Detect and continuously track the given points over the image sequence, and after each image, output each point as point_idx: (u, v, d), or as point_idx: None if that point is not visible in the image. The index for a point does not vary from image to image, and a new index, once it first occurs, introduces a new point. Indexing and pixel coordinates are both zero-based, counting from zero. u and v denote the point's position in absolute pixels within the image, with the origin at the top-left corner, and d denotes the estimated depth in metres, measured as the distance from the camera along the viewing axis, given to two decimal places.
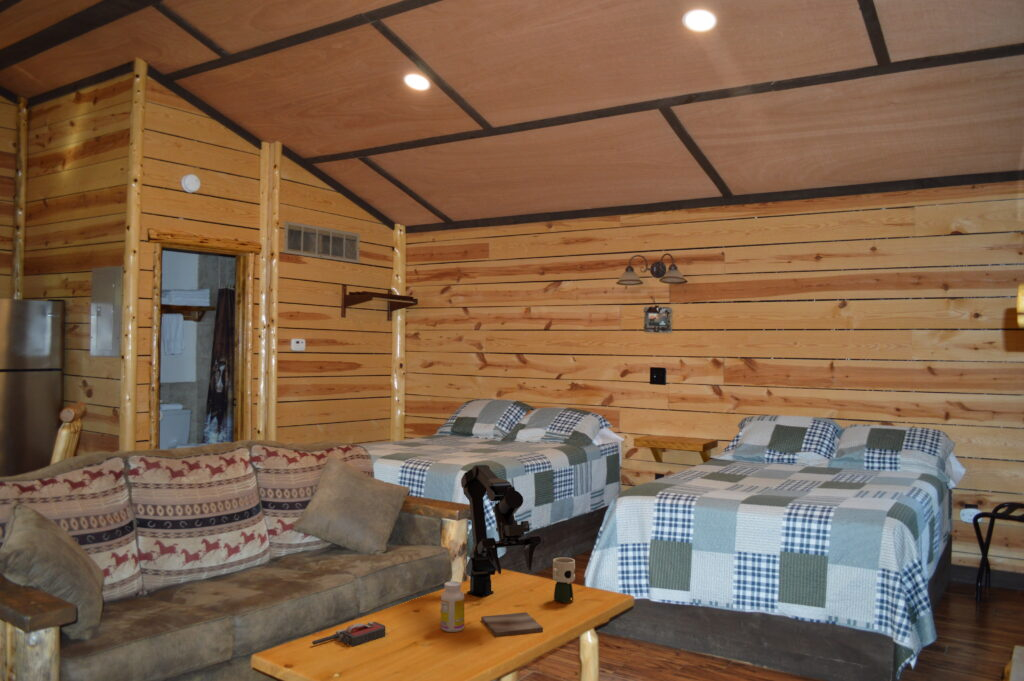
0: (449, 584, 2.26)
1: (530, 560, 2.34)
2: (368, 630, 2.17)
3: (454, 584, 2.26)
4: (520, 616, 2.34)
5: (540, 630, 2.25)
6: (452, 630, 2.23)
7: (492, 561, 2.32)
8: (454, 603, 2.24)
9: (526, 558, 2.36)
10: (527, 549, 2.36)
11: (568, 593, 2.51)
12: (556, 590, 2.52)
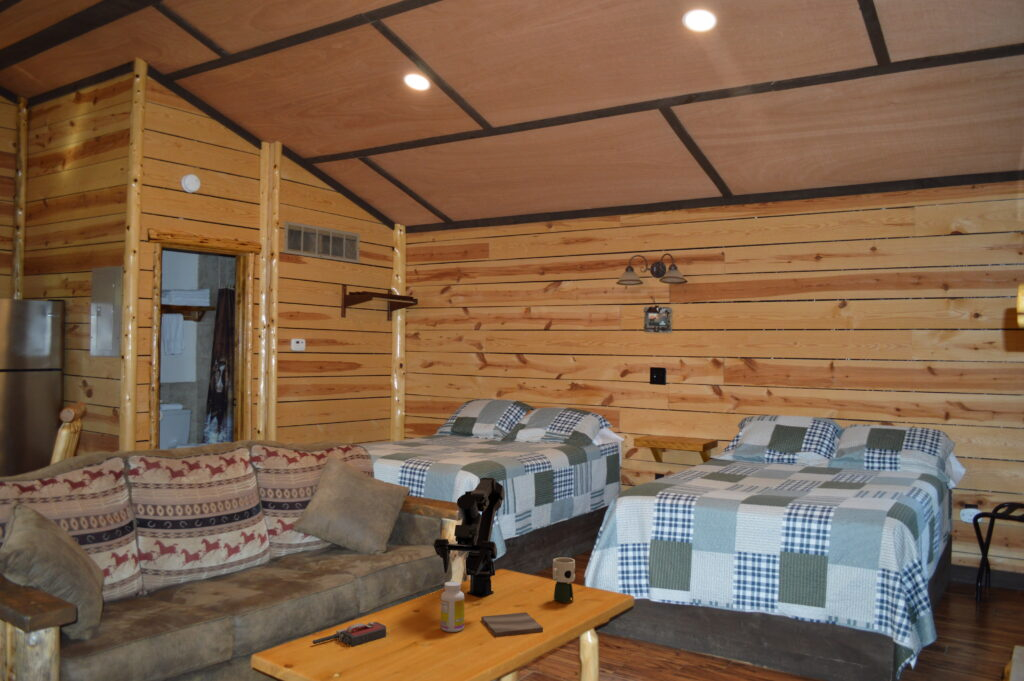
0: (449, 584, 2.26)
1: (478, 564, 2.35)
2: (368, 630, 2.17)
3: (454, 584, 2.26)
4: (520, 616, 2.34)
5: (540, 630, 2.25)
6: (452, 630, 2.23)
7: None
8: (454, 603, 2.24)
9: None
10: None
11: (568, 593, 2.51)
12: (556, 590, 2.52)
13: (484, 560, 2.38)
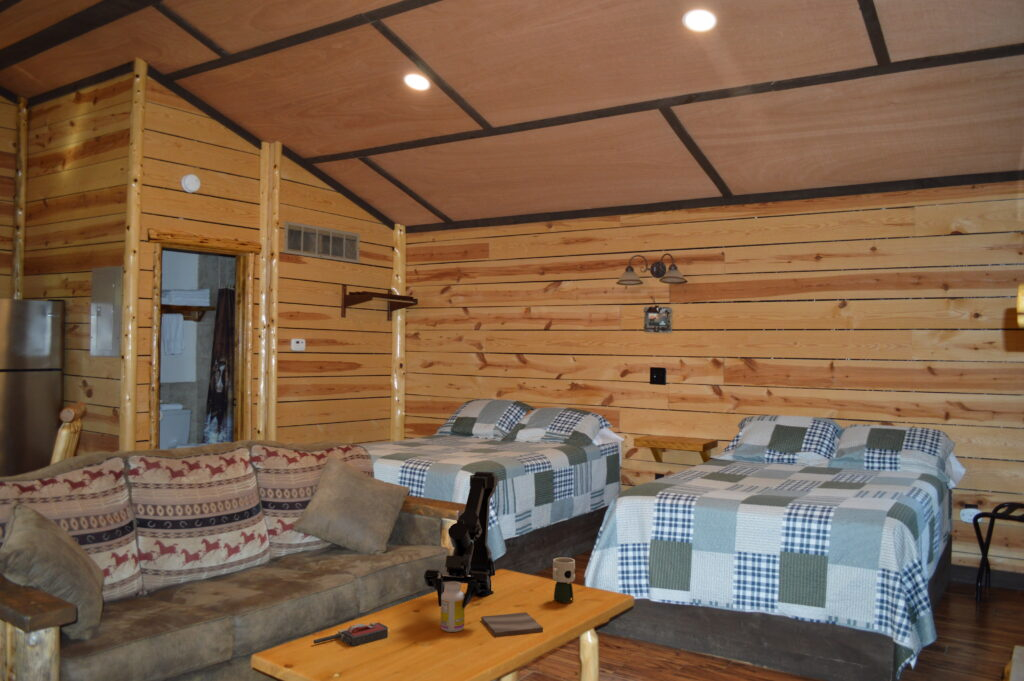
0: (449, 584, 2.26)
1: (466, 597, 2.26)
2: (369, 631, 2.17)
3: (454, 584, 2.26)
4: (520, 616, 2.34)
5: (540, 630, 2.25)
6: (452, 630, 2.23)
7: None
8: (454, 603, 2.24)
9: None
10: None
11: (568, 593, 2.51)
12: (556, 590, 2.52)
13: (472, 592, 2.29)
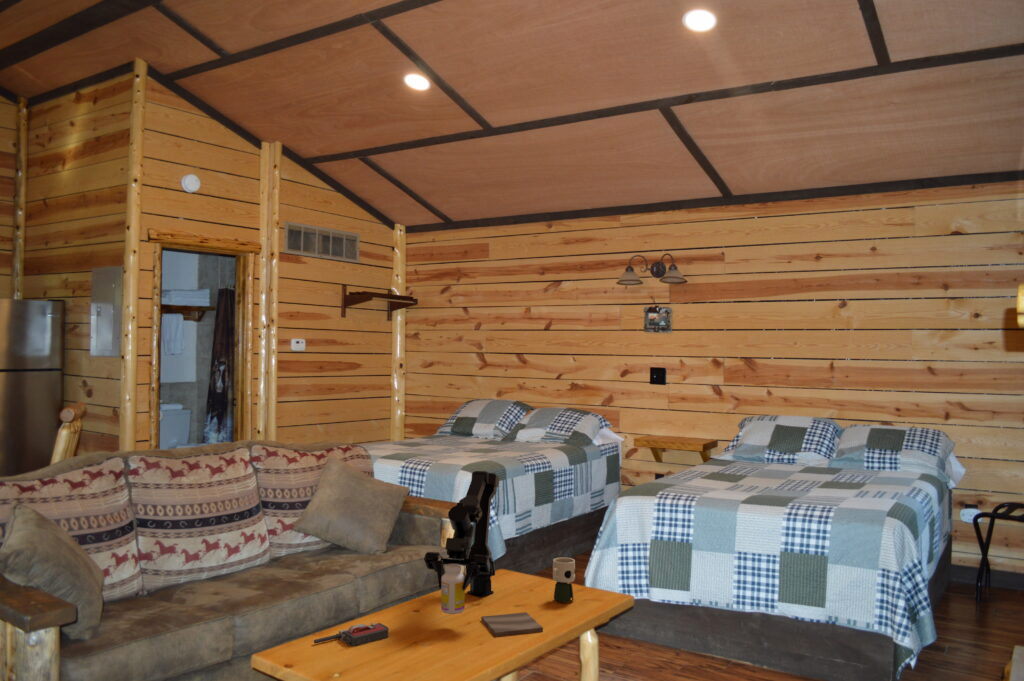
0: (449, 566, 2.26)
1: (466, 579, 2.26)
2: (370, 631, 2.17)
3: (454, 566, 2.26)
4: (520, 616, 2.34)
5: (540, 630, 2.25)
6: (452, 612, 2.24)
7: None
8: (454, 585, 2.24)
9: None
10: None
11: (568, 593, 2.51)
12: (556, 590, 2.52)
13: (473, 574, 2.29)
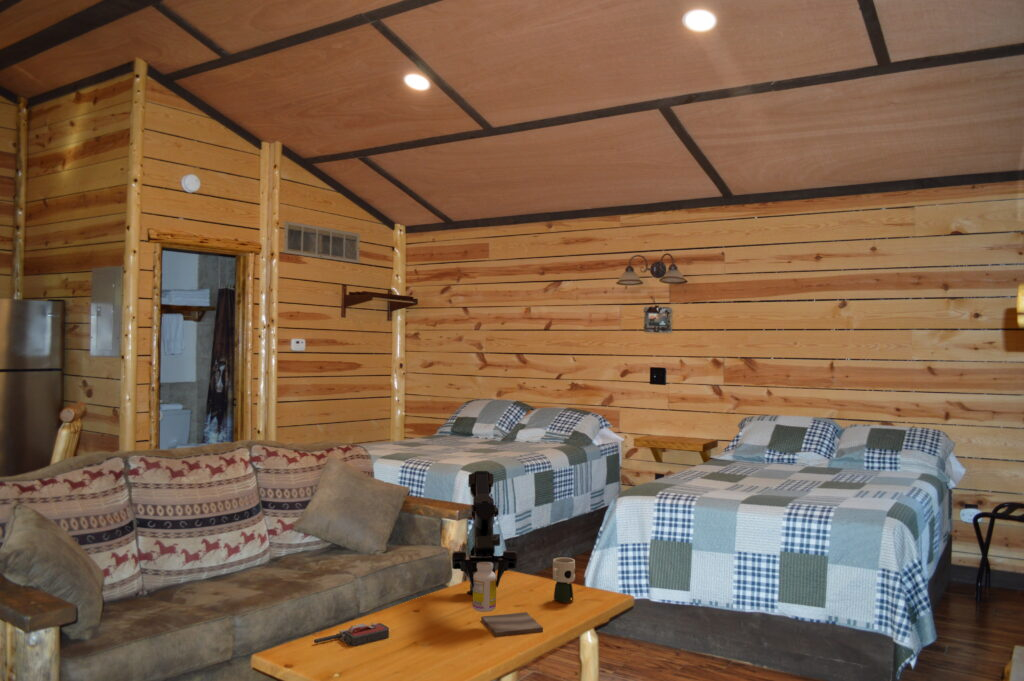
0: (482, 564, 2.26)
1: (498, 576, 2.28)
2: (370, 631, 2.16)
3: (487, 564, 2.27)
4: (520, 616, 2.34)
5: (540, 630, 2.25)
6: (487, 610, 2.24)
7: (467, 575, 2.29)
8: (489, 583, 2.25)
9: None
10: None
11: (568, 593, 2.51)
12: (556, 590, 2.52)
13: (501, 571, 2.31)
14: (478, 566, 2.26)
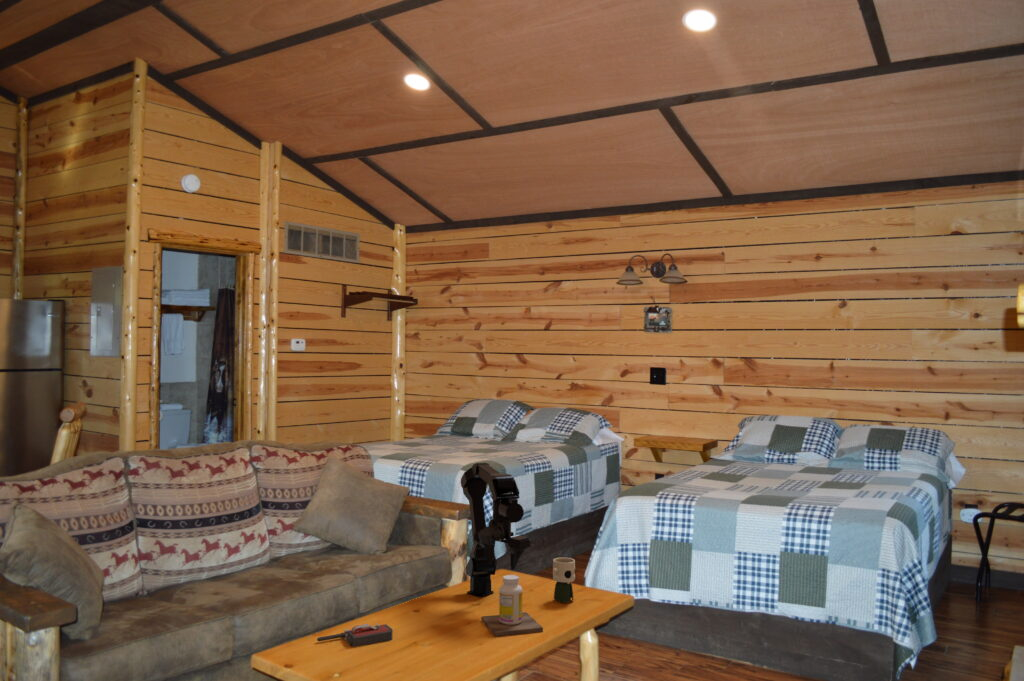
0: (509, 578, 2.28)
1: (511, 561, 2.40)
2: (373, 632, 2.16)
3: (514, 577, 2.29)
4: None
5: (540, 630, 2.25)
6: (516, 622, 2.27)
7: None
8: (518, 596, 2.27)
9: None
10: None
11: (568, 593, 2.51)
12: (556, 590, 2.52)
13: (519, 551, 2.41)
14: (506, 580, 2.28)
